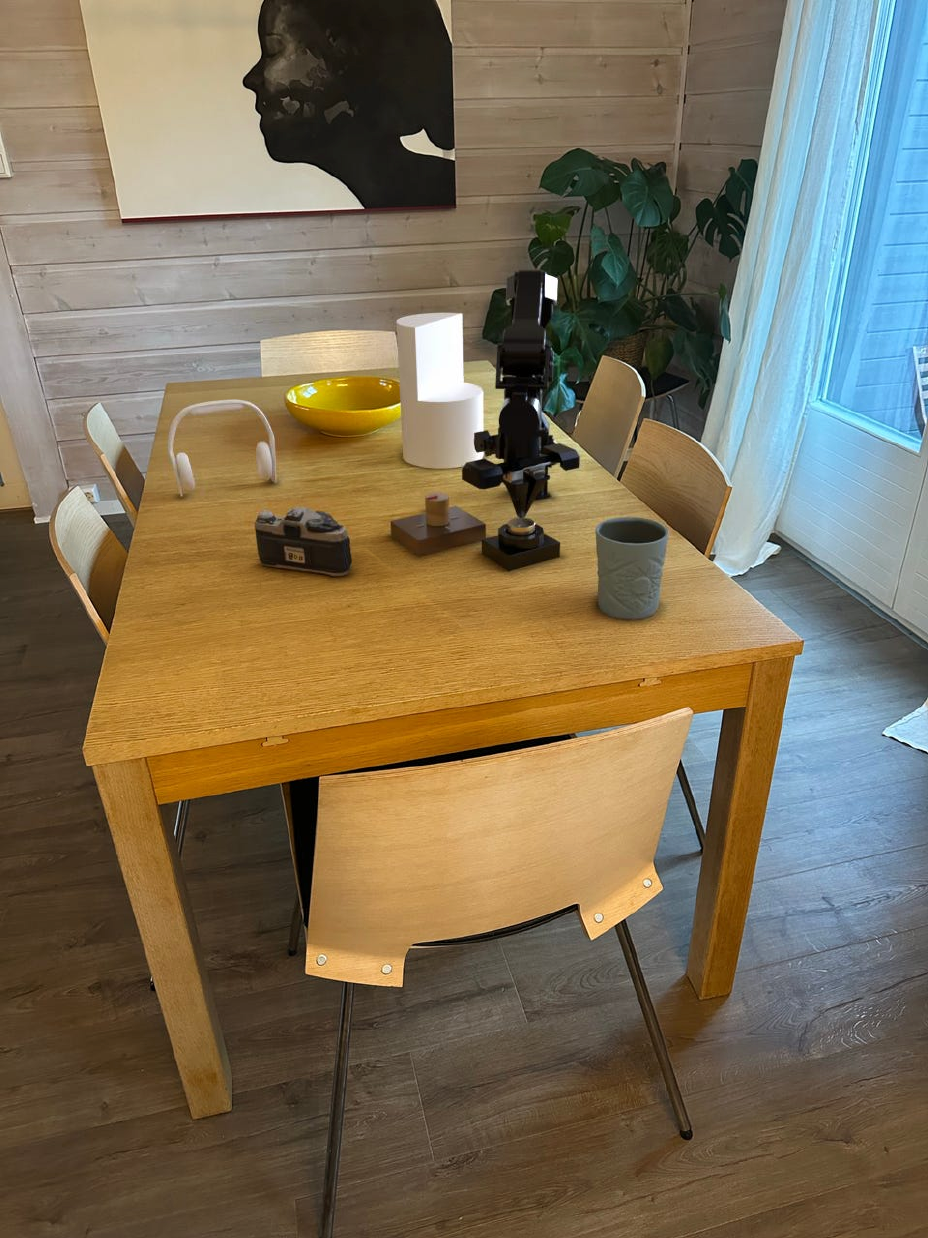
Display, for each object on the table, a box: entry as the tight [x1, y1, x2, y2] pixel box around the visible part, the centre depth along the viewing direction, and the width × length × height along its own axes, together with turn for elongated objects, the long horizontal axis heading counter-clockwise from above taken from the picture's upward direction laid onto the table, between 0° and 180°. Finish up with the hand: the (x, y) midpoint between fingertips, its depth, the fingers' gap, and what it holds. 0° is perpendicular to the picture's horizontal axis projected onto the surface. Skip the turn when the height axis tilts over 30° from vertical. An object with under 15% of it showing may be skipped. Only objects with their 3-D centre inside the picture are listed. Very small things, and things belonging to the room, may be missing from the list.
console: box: [389, 505, 487, 558], centre depth 153 cm, size 13×10×3 cm
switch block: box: [481, 523, 561, 572], centre depth 146 cm, size 10×8×4 cm
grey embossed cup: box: [595, 516, 670, 621], centre depth 129 cm, size 10×10×12 cm
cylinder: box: [396, 312, 484, 470], centre depth 187 cm, size 17×17×28 cm
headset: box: [167, 399, 278, 498], centre depth 172 cm, size 20×7×18 cm, turn 112°
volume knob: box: [424, 492, 450, 526], centre depth 152 cm, size 4×4×5 cm
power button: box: [506, 517, 536, 537], centre depth 145 cm, size 4×4×2 cm
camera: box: [254, 505, 353, 577], centre depth 144 cm, size 16×10×10 cm, turn 71°
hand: (521, 516), depth 144 cm, fingers closed
